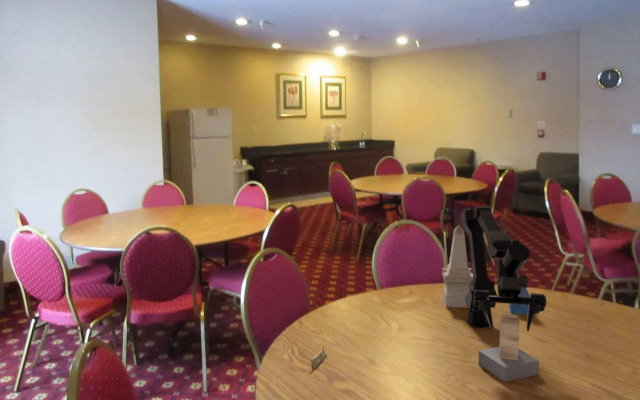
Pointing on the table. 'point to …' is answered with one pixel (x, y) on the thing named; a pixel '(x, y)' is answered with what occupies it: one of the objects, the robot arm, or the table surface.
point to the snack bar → (318, 358)
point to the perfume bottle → (520, 307)
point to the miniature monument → (457, 272)
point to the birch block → (509, 336)
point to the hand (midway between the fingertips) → (509, 329)
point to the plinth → (508, 365)
